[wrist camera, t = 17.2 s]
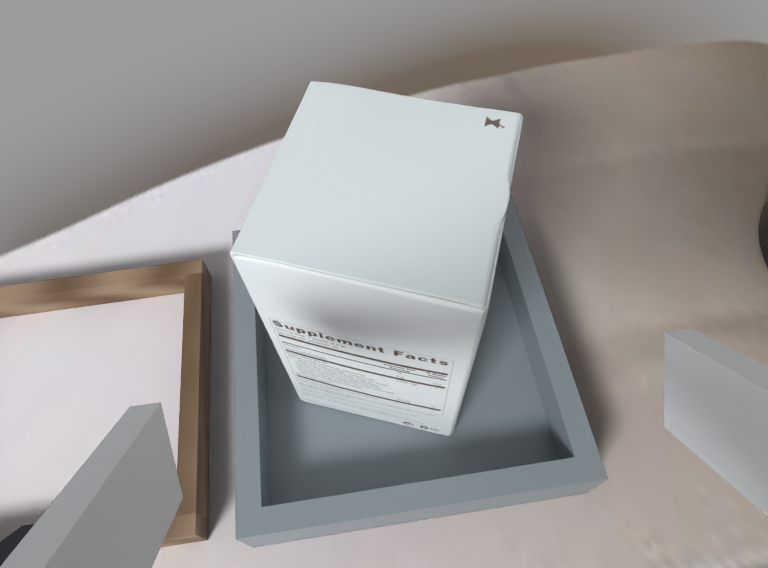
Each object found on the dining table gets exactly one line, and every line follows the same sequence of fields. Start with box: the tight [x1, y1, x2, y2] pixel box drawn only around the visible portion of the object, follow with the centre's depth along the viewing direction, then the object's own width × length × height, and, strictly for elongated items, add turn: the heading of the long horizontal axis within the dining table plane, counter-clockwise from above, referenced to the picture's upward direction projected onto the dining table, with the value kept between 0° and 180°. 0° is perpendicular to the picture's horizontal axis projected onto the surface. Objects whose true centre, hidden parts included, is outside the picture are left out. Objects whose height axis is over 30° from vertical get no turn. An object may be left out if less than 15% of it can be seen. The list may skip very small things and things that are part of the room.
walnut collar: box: [0, 259, 211, 547], centre depth 31 cm, size 16×16×2 cm
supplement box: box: [230, 81, 523, 436], centre depth 26 cm, size 9×9×15 cm
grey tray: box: [233, 194, 608, 547], centre depth 32 cm, size 17×17×4 cm
